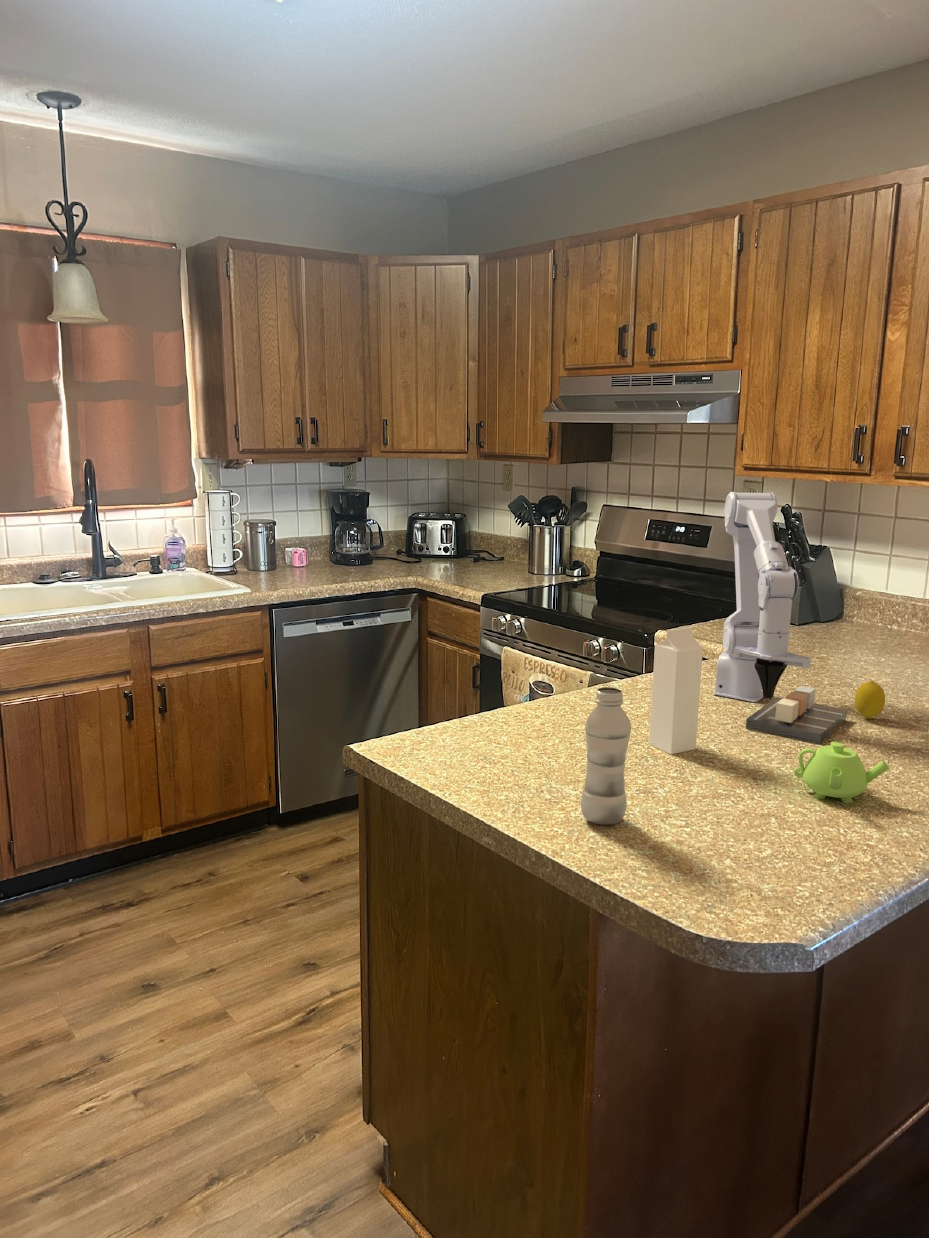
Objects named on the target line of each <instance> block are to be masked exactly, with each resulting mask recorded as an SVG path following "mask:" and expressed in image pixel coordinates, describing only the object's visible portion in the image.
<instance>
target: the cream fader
mask: <svg viewBox="0 0 929 1238" xmlns="http://www.w3.org/2000/svg"><path fill="white" fill-rule="evenodd" d="M798 707H799V701H795V700H790V699H786V697H785V698H782V700H780V701H779V702H777V704H776V715H775V720H779V721H784V722H789V723H791V722H793V721H794V720H795V719H796V718H797V717H798Z"/></svg>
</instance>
